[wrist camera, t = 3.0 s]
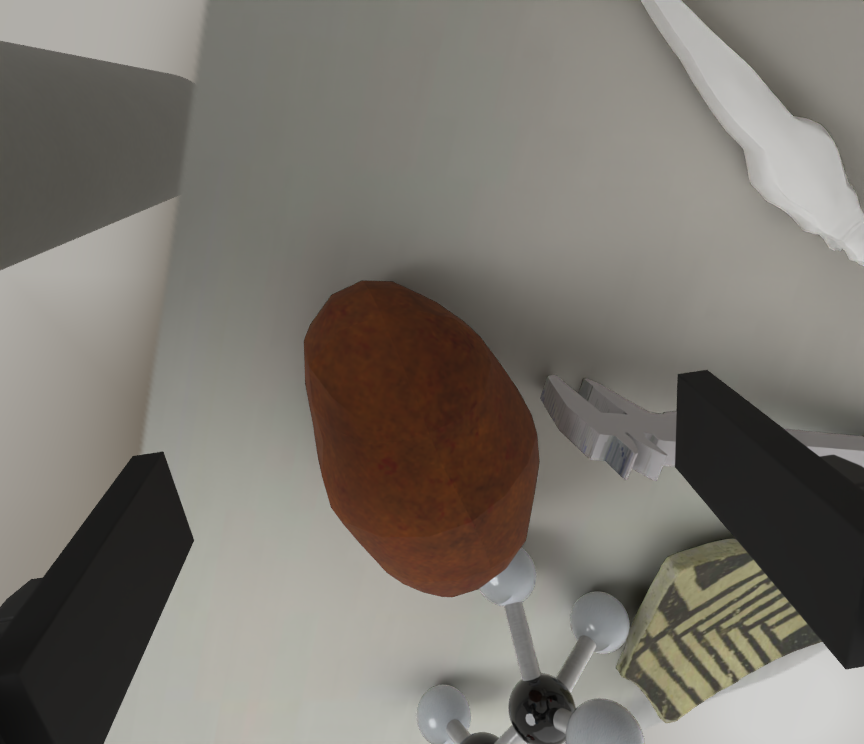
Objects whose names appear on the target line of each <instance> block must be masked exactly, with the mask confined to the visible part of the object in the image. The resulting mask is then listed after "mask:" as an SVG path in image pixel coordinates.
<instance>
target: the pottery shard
mask: <svg viewBox="0 0 864 744" xmlns="http://www.w3.org/2000/svg"><path fill="white" fill-rule="evenodd" d="M820 642H822V641H821V639H820V638H819V637H818V636H817V635H816V633H815V632H814V631H813V630H812V629H811V628H810V626H809V625H808V624H807V623H806V622H805V620H804V619H803V618H802V617H801V616H800V615H799V613H798V612H797V611H796V610H795V609H794V607H793V606H792V605H791V604H790V603H789V601H788V600H787V599H786V598H785V597H784V596H783V594H782V593H781V592H780V591H779V590H778V588H777V587H776V586H775V585H774V584H773V582H772V581H771V580H770V579H769V578H768V577H767V575H766V574H765V573H764V572H763V571H762V569H761V568H760V567H759V566H758V565H757V563H756V562H755V561H754V560H753V559H752V558H751V556H750V555H749V554H748V553H747V552H746V550H745V549H744V548H743V547H742V546H741V544H740V543H739V542H738V541H737V540H736V539H725V540H720V541H715V542H710V543H706V544H704V545H701V546H698V547H694V548H691V549H687V550H685V551H681V552H677V553H675V554H673V555H670V556H668V557H667V558H666V559H665V561H664V562H663V564H662V566H661V567H660V570H659V572H658V573H657V575H656V577H655V578H654V580H653V582H652V584H651V586H650V588H649V590H648V592H647V594H646V596H645V598H644V600H643V602H642V604H641V605H640V607H639V609H638V611H637V613H636V615H635V618H634V620H633V623H632V625H631V627H630V629H629V634H628V637H627V639H626V645H625V648H624V650H623V652H622V654H621V656H620V658H619V660H618V662H617V665H616V669H617V670H618V671H619V673H620V675H621V677H623V678H626V679H628V680H630V681H632V682H634V683H635V684H636V685H637V686H638V687H639V688H640V689H641V691H642V692H643V693H644V694H645V695H646V697H647V698H648V700H649V701H650V702H651V704H652V706H653V708H654V709H655V711H656V712H657V714H658V716H659V718H660V719H662V720H663V721H664V722H665V723H671V722H675V721H677V720H678V719H680V718H681V717H682V716H684V715H685V714H686V713H688V712H689V711H691V710H692V709H693V708H695V707H696V706H698V705H699V704H701V703H702V702H704V701H705V700H706V699H708V698H710V697H712V696H713V695H715V694H716V693H717V692H719V691H721V690H723V689H725V688H727V687H729V686H730V685H732V684H734V683H736V682H738V681H739V680H740V679H741V678H742V677H744V676H746V675H748V674H750V673H751V672H754V671H756V670H757V669H759V668H760V667H762V666H764V665H766V664H768V663H770V662H772V661H774V660H776V659H778V658H780V657H783V656H785V655H787V654H789V653H792V652H794V651H797V650H799V649H802V648H805V647H808V646H810V645H814V644H817V643H820Z"/></svg>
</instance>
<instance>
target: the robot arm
mask: <svg viewBox="0 0 864 744" xmlns="http://www.w3.org/2000/svg"><path fill="white" fill-rule="evenodd" d="M675 467H676V469H677V470H678V471H679V472H680V473H681V474H682V476H683V477H684V478H685V479H686V480H687V482H688V483H689V484H690V485H691V486H692V488H693V489H694V490H695V491H696V492H697V493H698V495H699V496H700V497H701V498H702V499H703V501H704V502H705V503H706V504H707V505H708V507H709V508H710V509H711V510H712V511H713V512H714V514H715V515H716V516H717V517H718V518H719V520H720V521H721V522H722V523H723V524H724V526H725V527H726V528H727V529H728V530H729V531H730V533H731V534H732V535H733V536H734V537H735V539H736V540H737V541H738V542H739V543H740V544H741V546H742V547H743V548H744V549H745V550H746V552H747V553H748V554H749V555H750V556H751V558H752V559H753V560H754V561H755V562H756V563H757V565H758V566H759V567H760V568H761V569H762V571H763V572H764V573H765V574H766V575H767V577H768V578H769V579H770V580H771V581H772V582H773V584H774V585H775V586H776V587H777V588H778V590H779V591H780V592H781V593H782V594H783V596H784V597H785V598H786V599H787V600H788V601H789V603H790V604H791V605H792V606H793V607H794V609H795V610H796V611H797V612H798V613H799V615H800V616H801V617H802V618H803V619H804V620H805V622H806V623H807V624H808V625H809V626H810V628H811V629H812V630H813V631H814V632H815V633H816V635H817V636H818V637H819V638H820V639H821V641H822V642H823V643H824V644H825V645H826V647H827V648H828V649H829V650H830V651H831V652H832V654H833V655H834V656H835V657H836V658H837V660H838V661H839V662H840V663H841V664H842V665H843V667H844V668H845V669H851V668H857V667H863V666H864V467H862V466H861V465H858V464H856V463H853V462H851V461H848V460H846V459H844V458H841V457H839V456H836V455H834V454H833V455H826V456H818V455H817V454H816V453H814V452H813V451H812V450H810V449H809V448H808V447H807V446H805V445H804V444H803V443H801V442H800V441H799V440H798V439H796V438H795V437H794V436H792V435H791V434H790V433H788V432H787V431H786V430H785V429H783V428H782V427H781V426H779V425H778V424H777V423H775V422H774V421H773V420H772V419H770V418H769V417H768V416H766V415H765V414H764V413H763V412H761V411H760V410H759V409H757V408H756V407H755V406H753V405H752V404H751V403H750V402H748V401H747V400H746V399H744V398H743V397H742V396H740V395H739V394H738V393H737V392H735V391H734V390H733V389H731V388H730V387H729V386H727V385H726V384H725V383H724V382H722V381H721V380H720V379H718V378H717V377H716V376H715V375H713V374H712V373H711V372H709V371H708V370H703V371H697V372H690V373H683V374H678V384H677V415H676V447H675ZM193 542H194V539H193V536H192V533H191V530H190V527H189V524H188V521H187V518H186V516H185V513H184V510H183V507H182V504H181V501H180V498H179V495H178V493H177V490H176V487H175V484H174V481H173V478H172V475H171V472H170V470H169V467H168V464H167V461H166V458H165V455H164V452H157V453H151V454H144V455H137V456H133V457H132V458H131V459H130V461H129V462H128V463H127V465H126V466H125V467H124V469H123V470H122V471H121V473H120V474H119V476H118V477H117V478H116V479H115V481H114V482H113V484H112V485H111V486H110V488H109V489H108V491H107V492H106V493H105V494H104V496H103V497H102V499H101V500H100V501H99V502H98V504H97V505H96V507H95V508H94V509H93V511H92V512H91V514H90V515H89V516H88V518H87V519H86V520H85V521H84V523H83V524H82V525H81V527H80V528H79V530H78V531H77V532H76V534H75V535H74V536H73V538H72V539H71V541H70V542H69V543H68V544H67V546H66V547H65V549H64V550H63V551H62V553H61V554H60V555H59V557H58V558H57V559H56V561H55V562H54V563H53V565H52V566H51V567H50V569H49V570H48V571H47V573H46V574H45V576H44V577H43V578H37V579H31V580H30V581H28V582H27V583H26V584H25V585H24V586H22V587H21V588H20V589H19V590H18V591H16V592H15V593H14V594H13V595H11V596H10V597H9V598H8V599H6V601H5V602H4V603H3V604H2V606H1V607H0V744H104V741H105V739H106V737H107V735H108V732H109V730H110V728H111V726H112V723H113V721H114V719H115V717H116V714H117V712H118V710H119V708H120V705H121V703H122V701H123V699H124V696H125V694H126V692H127V690H128V687H129V685H130V683H131V681H132V678H133V676H134V674H135V672H136V670H137V667H138V665H139V663H140V661H141V658H142V656H143V654H144V652H145V649H146V647H147V645H148V643H149V640H150V638H151V636H152V634H153V631H154V629H155V627H156V625H157V622H158V620H159V618H160V616H161V613H162V611H163V609H164V607H165V604H166V602H167V600H168V598H169V595H170V593H171V591H172V589H173V587H174V584H175V582H176V580H177V578H178V575H179V573H180V571H181V569H182V566H183V564H184V562H185V560H186V557H187V555H188V553H189V551H190V548H191V546H192V544H193Z"/></svg>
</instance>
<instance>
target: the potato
mask: <svg viewBox="0 0 864 744" xmlns="http://www.w3.org/2000/svg"><path fill="white" fill-rule="evenodd" d="M304 359H305V385H306V390H307V395H308V400H309V406H310V411H311V416H312V421H313V427H314V434H315V440H316V447H317V454H318V459H319V464H320V469H321V473H322V478H323V481H324V484H325V488H326V491H327V495H328V498H329V502H330V505H331V508H332V509H333V511H334V512H335V513H336V515H337V516H338V517H339V519H340V520H341V521H342V523H343V524H344V525H345V527H346V528H347V529H348V530H349V531H350V532H351V534H352V535H353V536H354V537H355V538H356V540H357V541H358V542H359V543H360V544H361V545H362V546H363V547H364V548H365V549H366V551H367V552H368V553H369V554H370V555H371V556H372V557H373V558H374V559H375V560H376V561H377V562H378V563H379V565H380V566H381V567H382V568H383V569H384V570H385V571H386V572H387V573H388V574H390V575H391V576H393V577H394V578H395V579H397V580H398V581H400V582H401V583H403V584H405V585H407V586H410V587H412V588H414V589H417V590H419V591H422V592H424V593H429V594H433V595H437V596H441V597H455V596H458V595H461V594H464V593H468V592H471V591H474V590H477V589H480V588H481V587H482V586H484V585H485V584H486V583H488V582H489V581H490V580H492V579H493V578H494V577H496V576H497V575H499V574H500V573H501V572H502V571H504V570H505V569H506V568H507V567H508V565H509V564H510V562H511V561H512V560H513V558H514V557H515V555H516V554H517V552H518V551H519V550H520V548H521V547H522V545H523V544H524V542H525V541H526V537H527V532H528V526H529V521H530V516H531V510H532V505H533V499H534V494H535V488H536V481H537V475H538V468H539V450H538V438H537V432H536V428H535V425H534V421H533V418H532V415H531V413H530V411H529V409H528V407H527V405H526V404H525V402H524V400H523V398H522V396H521V395H520V393H519V391H518V389H517V388H516V386H515V385H514V383H513V382H512V380H511V379H510V377H509V376H508V374H507V373H506V371H505V370H504V368H503V367H502V366H501V364H500V363H499V361H498V360H497V359H496V357H495V356H494V355H493V353H492V352H491V351H490V349H489V348H488V346H487V345H486V344H485V342H484V341H483V340H482V338H481V337H480V336H479V335H478V334H477V333H476V332H475V331H474V330H473V329H471V328H470V327H469V326H468V325H467V324H466V323H465V322H464V321H463V320H461V319H460V318H458V317H457V316H455V315H454V314H453V313H451V312H450V311H448V310H447V309H445V308H444V307H443V306H441V305H440V304H438V303H437V302H435V301H433V300H431V299H429V298H427V297H425V296H423V295H421V294H418V293H416V292H414V291H412V290H410V289H408V288H406V287H403V286H401V285H399V284H397V283H395V282H393V281H363V280H362V281H360V282H358V283H356V284H354V285H351V286H349V287H347V288H345V289H343V290H341V291H339V292H337V293H334V294H332V295H331V296H330V298H329V299H328V301H327V302H326V303H325V305H324V306H323V308H322V309H321V310H320V312H319V313H318V314H317V316H316V317H315V319H314V320H313V321H312V323H311V324H310V326H309V329H308V331H307V334H306V337H305V339H304Z"/></svg>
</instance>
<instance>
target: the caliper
mask: <svg viewBox="0 0 864 744" xmlns="http://www.w3.org/2000/svg"><path fill="white" fill-rule="evenodd" d="M541 400H542V402H543V404H544V406H545V408H546V409H547V411H548V413H549V414H550V416H551V418H552V419H553V421H554V422H555V424H556V426H557V427H558V429H559V430H560V431H561V432H562V433H563V434H564V435H565V436H566V437H567V438H568V439H569V440H570V441H571V442H572V443H573V444H574V445H575V446H576V447H578V448H579V449H580V450H581V451H582V452H583V453H584V454H585V455H586V456H587V457H588V458H589V459H590V460H600V461H606V462H607V463H608V464H609V465H610V466H611V467H612V468H613V469H614V470H615V471H616V472H617V473H618V474H619V475H620V476H621V477H622V478H623V479H624V480H626V479H628V477H629V474H630V472H631V469H634V470H635V471H637V472H639V473H641V474H642V475H644V476H646V477H648V478H650V479H652V480H654V481H657V480H658V477H659V475H660V473H661V470H662V468H663V466H675V447H676V415H677V411H670V412H664V413H663V414H660V413H651V412H648V411H646V410H645V409H643V408H641V407H639V406H638V405H636V404H634V403H632V402H631V401H629V400H627V399H625V398H624V397H622V396H620V395H619V394H617V393H615V392H613V391H612V390H610V389H608V388H606V387H605V386H603V385H601V384H599V383H597V382H595V381H592V380H590V379H587V378H584V379H583V382H582V385H581V388H580V390H579V393H577V392H576V391H574V390H573V389H572V388H571V387H570V386H568V385H567V384H566V383H565V382H564V381H563V380H561V379H560V378H559V377H558V376H557V375H550V376H547V380H546V383H545V386H544V389H543V392H542V395H541ZM785 430H786V431H787V432H788V433H790V434H791V435H792V436H794V437H795V438H796V439H798V440H799V441H800V442H801V443H803V444H804V445H805V446H807V447H808V448H809V449H810V450H812V451H813V452H814V453H816V454H817V455H818V456H826V455H833V454H834V455H836V456H839V457H841V458H844V459H846V460H848V461H851V462H853V463H856V464H858V465H861V466H862V467H864V436H856V435H844V434H833V433H822V432H812V431H801V430H791V429H785Z"/></svg>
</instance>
